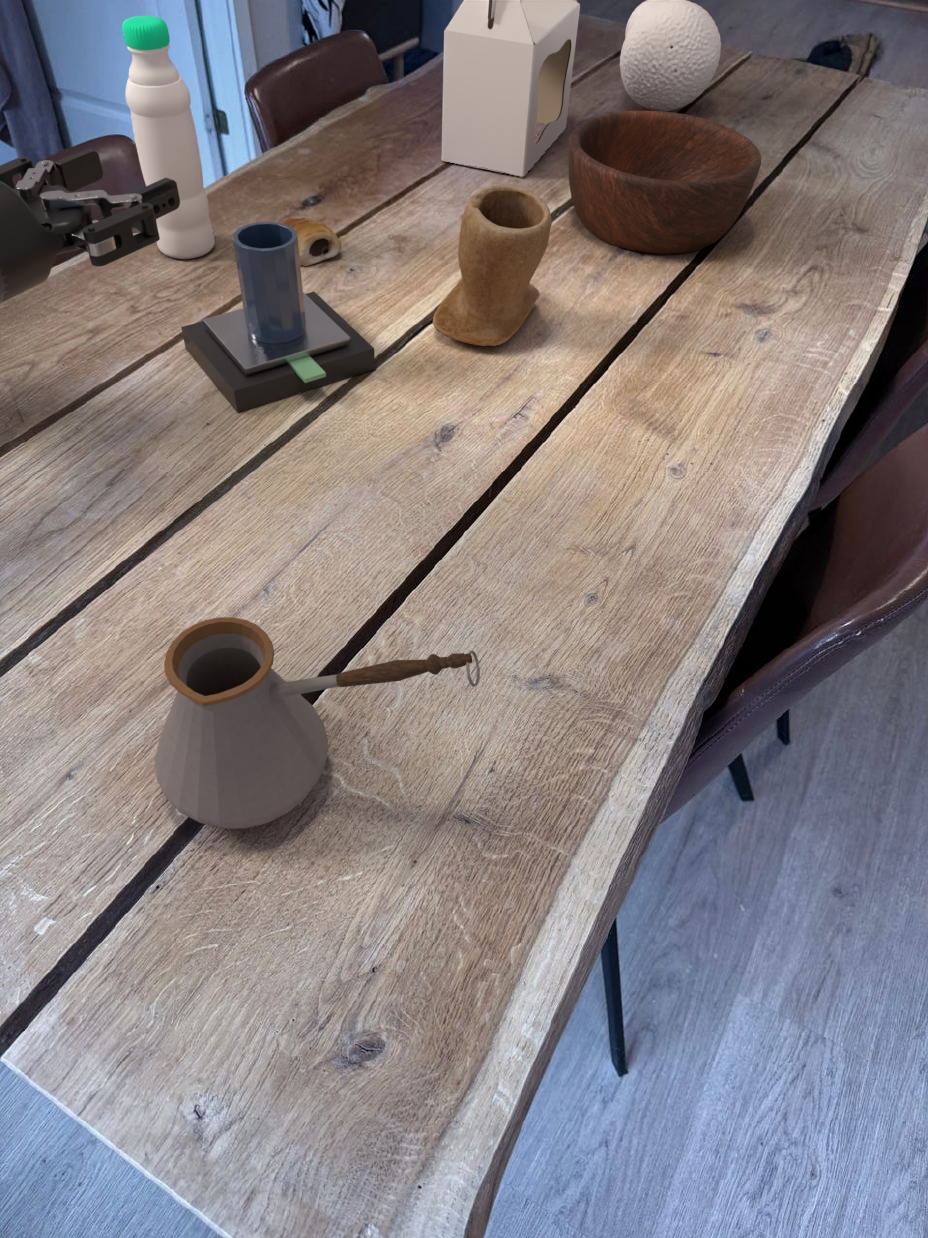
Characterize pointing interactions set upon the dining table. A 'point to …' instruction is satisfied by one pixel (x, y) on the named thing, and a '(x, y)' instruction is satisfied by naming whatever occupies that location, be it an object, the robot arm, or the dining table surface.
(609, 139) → the wooden bowl
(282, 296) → the cup
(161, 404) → the dining table surface
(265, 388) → the scale
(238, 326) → the scale pan
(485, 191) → the stone cup
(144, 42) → the water bottle
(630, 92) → the decorative orb
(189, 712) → the coffee pot
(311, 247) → the pastry
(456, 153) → the gable box
